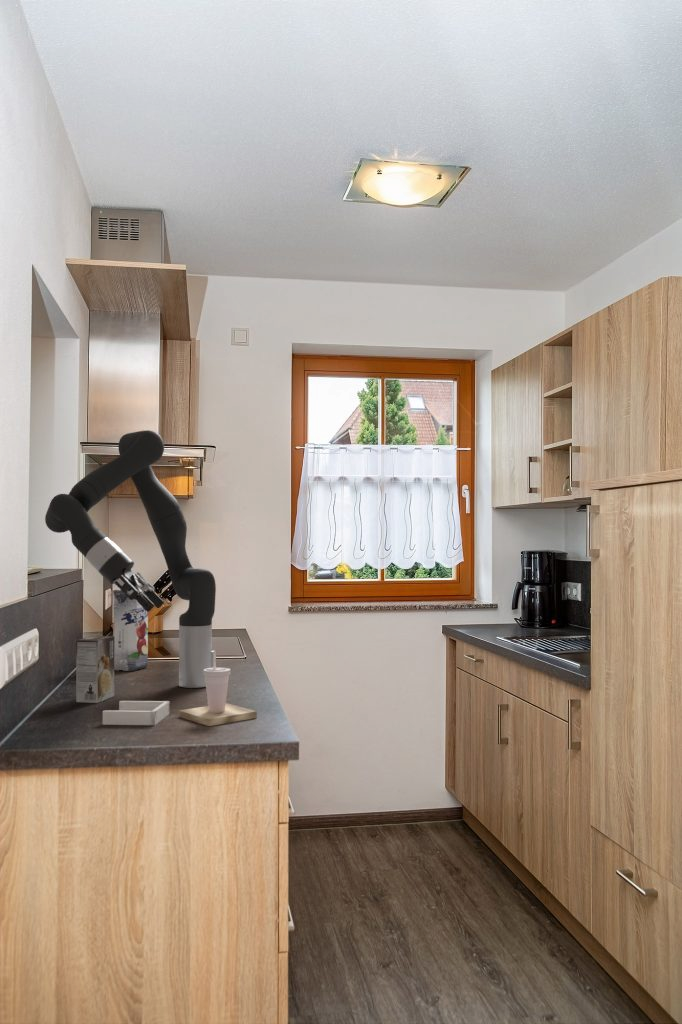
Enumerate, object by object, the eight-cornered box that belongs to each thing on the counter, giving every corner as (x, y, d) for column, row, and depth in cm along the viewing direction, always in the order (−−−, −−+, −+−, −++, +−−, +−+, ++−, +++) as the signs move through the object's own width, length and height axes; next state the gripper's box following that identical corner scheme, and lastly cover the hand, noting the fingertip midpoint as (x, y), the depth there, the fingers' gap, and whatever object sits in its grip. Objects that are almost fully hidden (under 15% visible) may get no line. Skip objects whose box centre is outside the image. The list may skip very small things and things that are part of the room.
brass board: (226, 709, 202) (226, 703, 202) (256, 717, 192) (256, 711, 192) (179, 716, 193) (179, 710, 193) (208, 726, 183) (208, 719, 184)
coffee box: (93, 695, 220) (93, 635, 221) (115, 696, 219) (115, 636, 219) (75, 702, 211) (75, 639, 212) (98, 703, 210) (98, 640, 210)
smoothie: (204, 708, 195) (204, 649, 196) (231, 707, 196) (231, 648, 196) (201, 714, 189) (202, 653, 189) (229, 713, 190) (230, 652, 190)
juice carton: (108, 670, 261) (109, 585, 262) (128, 666, 271) (128, 583, 272) (132, 672, 258) (133, 586, 259) (151, 667, 268) (151, 584, 269)
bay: (102, 724, 186) (102, 711, 186) (120, 713, 197) (120, 700, 198) (154, 725, 185) (154, 711, 185) (169, 713, 197) (169, 701, 197)
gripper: (110, 550, 193) (159, 598, 192) (129, 548, 207) (174, 593, 206) (88, 573, 193) (137, 621, 192) (108, 570, 207) (154, 615, 206)
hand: (156, 607), depth 199 cm, fingers open, 8 cm apart
